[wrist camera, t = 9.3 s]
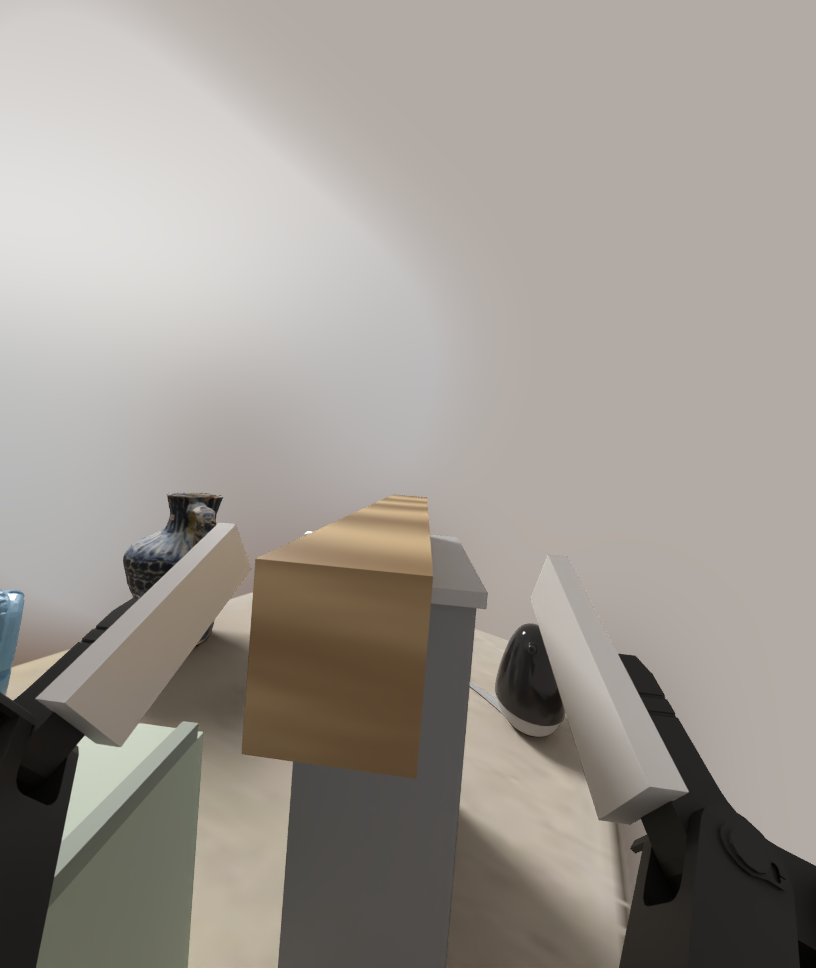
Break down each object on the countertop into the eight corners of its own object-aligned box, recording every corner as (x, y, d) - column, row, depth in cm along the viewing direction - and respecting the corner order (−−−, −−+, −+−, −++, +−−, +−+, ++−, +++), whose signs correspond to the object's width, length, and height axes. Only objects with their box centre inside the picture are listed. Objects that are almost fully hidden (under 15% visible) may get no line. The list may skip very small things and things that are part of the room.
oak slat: (416, 778, 6) (433, 576, 6) (242, 753, 7) (255, 558, 6) (423, 535, 34) (426, 497, 34) (390, 532, 35) (393, 494, 34)
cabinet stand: (447, 1064, 18) (487, 592, 18) (263, 1027, 19) (296, 573, 18) (436, 781, 35) (457, 537, 35) (340, 768, 36) (358, 528, 35)
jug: (104, 640, 57) (114, 488, 56) (214, 608, 73) (222, 489, 72) (137, 690, 45) (149, 500, 45) (258, 638, 62) (268, 498, 61)
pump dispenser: (486, 730, 43) (495, 629, 43) (499, 688, 52) (506, 605, 52) (563, 766, 38) (574, 654, 38) (562, 713, 48) (571, 622, 47)
